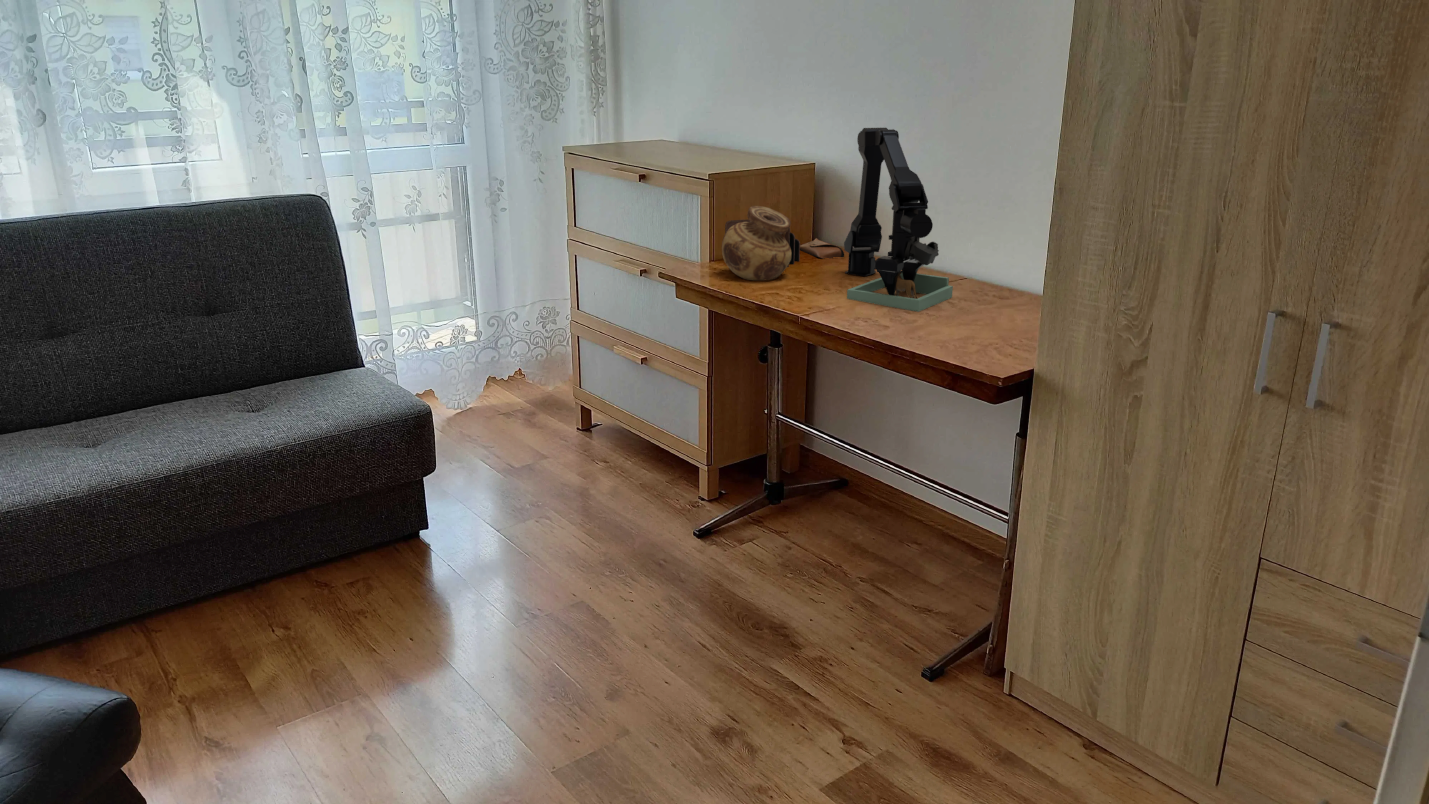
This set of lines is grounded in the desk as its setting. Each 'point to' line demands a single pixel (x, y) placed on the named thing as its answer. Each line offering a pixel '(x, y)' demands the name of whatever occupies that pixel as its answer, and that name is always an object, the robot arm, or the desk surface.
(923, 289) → the cold frame
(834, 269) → the desk surface
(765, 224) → the clay pot
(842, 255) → the sunglasses case
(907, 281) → the lion figurine
